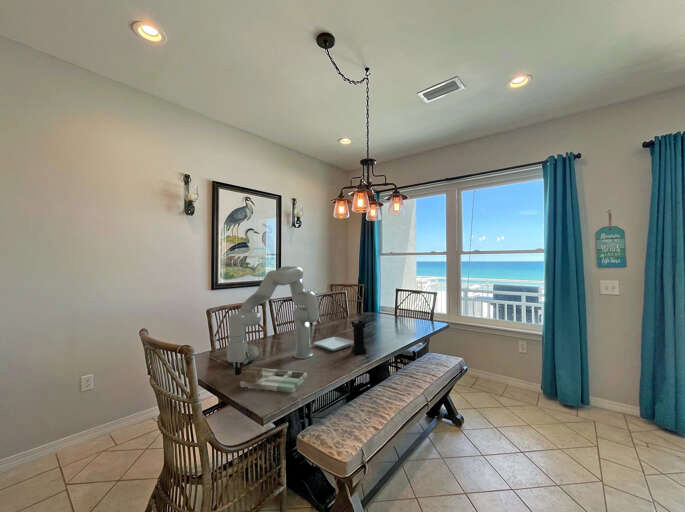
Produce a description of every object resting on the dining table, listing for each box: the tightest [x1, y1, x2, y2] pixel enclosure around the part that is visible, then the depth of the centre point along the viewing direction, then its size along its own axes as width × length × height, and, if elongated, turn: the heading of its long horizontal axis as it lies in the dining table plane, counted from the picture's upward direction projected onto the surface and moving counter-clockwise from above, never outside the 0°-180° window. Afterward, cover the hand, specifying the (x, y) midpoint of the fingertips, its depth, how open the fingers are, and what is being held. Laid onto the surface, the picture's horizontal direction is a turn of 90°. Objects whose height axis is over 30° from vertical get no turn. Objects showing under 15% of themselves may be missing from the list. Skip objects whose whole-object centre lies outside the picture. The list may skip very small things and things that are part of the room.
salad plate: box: [313, 336, 354, 352], centre depth 199 cm, size 21×21×3 cm
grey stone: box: [247, 343, 259, 363], centre depth 173 cm, size 18×18×10 cm
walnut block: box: [244, 366, 263, 383], centre depth 141 cm, size 6×6×5 cm
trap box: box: [239, 367, 308, 394], centre depth 144 cm, size 18×28×2 cm, turn 75°
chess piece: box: [350, 320, 368, 356], centre depth 184 cm, size 8×8×20 cm
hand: (238, 374), depth 144 cm, fingers closed
